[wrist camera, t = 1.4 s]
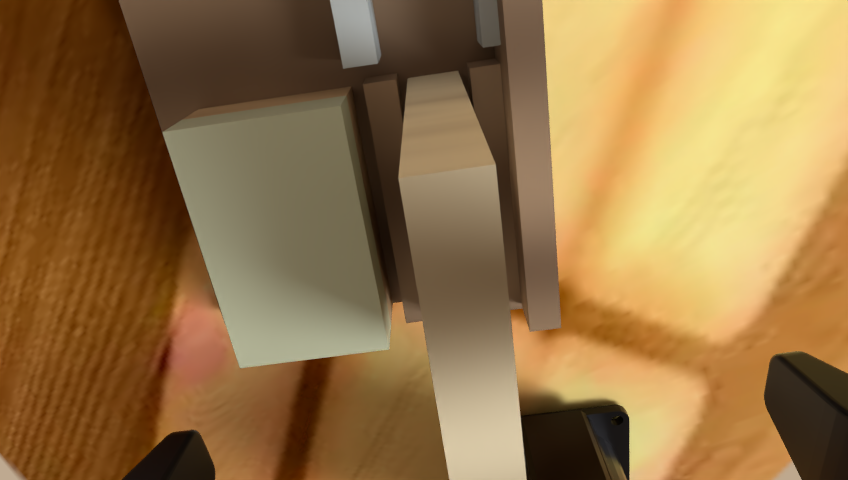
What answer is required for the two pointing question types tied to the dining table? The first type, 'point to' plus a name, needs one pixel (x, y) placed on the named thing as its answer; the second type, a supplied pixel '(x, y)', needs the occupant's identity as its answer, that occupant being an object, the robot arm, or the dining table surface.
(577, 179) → the dining table surface
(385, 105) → the walnut rack
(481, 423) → the birch sheet
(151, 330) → the dining table surface
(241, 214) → the sage offcut
